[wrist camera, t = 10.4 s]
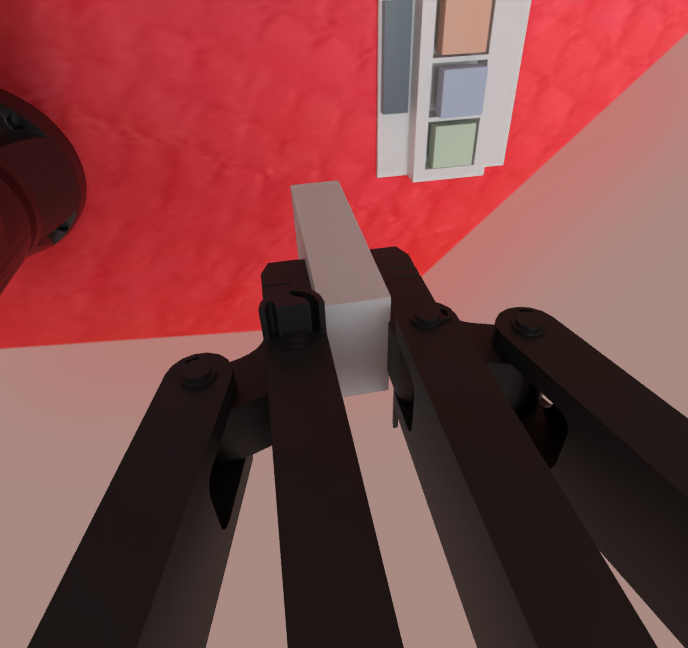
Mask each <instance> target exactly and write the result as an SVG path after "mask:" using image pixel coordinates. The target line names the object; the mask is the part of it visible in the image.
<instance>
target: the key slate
mask: <svg viewBox="0 0 688 648" xmlns="http://www.w3.org/2000/svg"><path fill="white" fill-rule="evenodd" d="M487 73H488V66H486V65H483V64H468V65H454V66H441V67H439V68H438V81H437V94H436V107H435V114H436V115H437V116H438V117H439V118H451V117H463V116H474V115H482V111H483V103H484V96H485V88H486V81H487Z"/></svg>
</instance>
